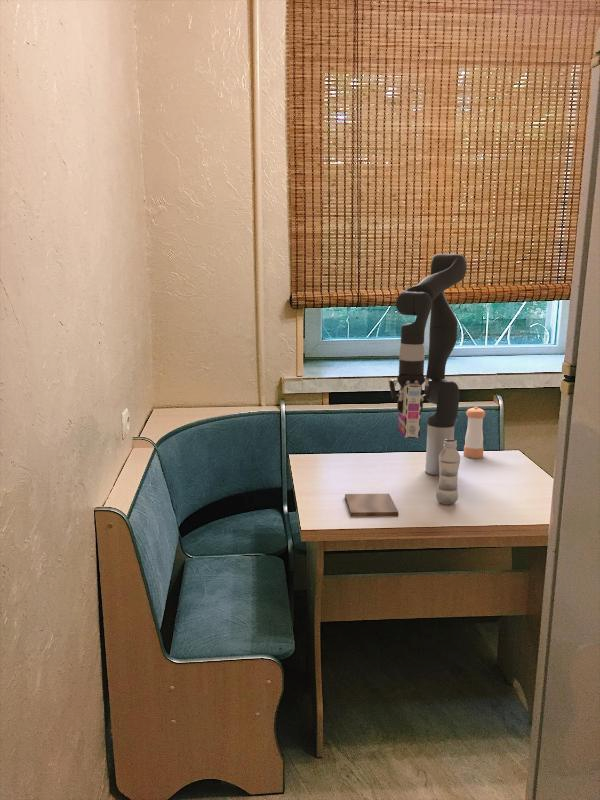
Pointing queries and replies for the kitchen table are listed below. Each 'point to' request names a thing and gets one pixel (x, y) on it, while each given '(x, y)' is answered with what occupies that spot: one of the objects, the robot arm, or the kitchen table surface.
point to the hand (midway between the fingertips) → (409, 412)
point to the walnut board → (371, 505)
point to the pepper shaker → (474, 433)
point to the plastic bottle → (448, 473)
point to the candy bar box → (411, 411)
